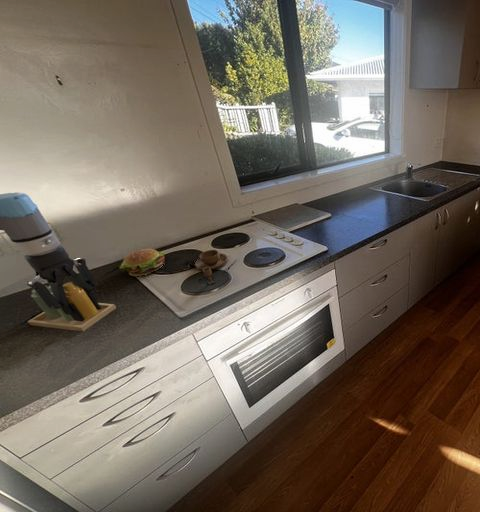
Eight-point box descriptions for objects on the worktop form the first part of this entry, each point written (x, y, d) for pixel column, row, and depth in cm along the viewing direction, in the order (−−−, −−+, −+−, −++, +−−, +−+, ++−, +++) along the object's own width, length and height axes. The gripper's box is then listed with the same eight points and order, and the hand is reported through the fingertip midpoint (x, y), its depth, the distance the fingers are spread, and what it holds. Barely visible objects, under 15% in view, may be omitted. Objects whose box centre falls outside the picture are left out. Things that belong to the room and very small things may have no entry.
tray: (31, 326, 89) (27, 321, 88) (67, 303, 98) (64, 299, 97) (84, 332, 87) (80, 327, 86) (116, 308, 96) (114, 304, 95)
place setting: (240, 257, 124) (237, 245, 121) (214, 284, 107) (209, 271, 104) (201, 256, 125) (197, 244, 122) (169, 283, 108) (163, 270, 105)
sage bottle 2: (61, 320, 91) (37, 290, 84) (76, 310, 95) (54, 280, 88) (73, 321, 90) (50, 291, 84) (88, 311, 94) (67, 282, 88)
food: (141, 260, 122) (132, 244, 118) (174, 260, 122) (166, 243, 118) (115, 279, 111) (104, 261, 106) (151, 278, 110) (142, 261, 106)
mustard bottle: (75, 319, 89) (51, 288, 83) (90, 309, 93) (69, 279, 87) (87, 320, 89) (65, 289, 83) (102, 310, 93) (82, 280, 86)
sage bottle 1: (44, 318, 91) (20, 288, 85) (60, 309, 95) (38, 279, 89) (57, 320, 91) (33, 289, 85) (72, 310, 95) (50, 280, 89)
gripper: (14, 268, 71) (68, 336, 83) (87, 236, 86) (124, 297, 98) (-11, 266, 72) (46, 333, 84) (66, 235, 87) (105, 296, 99)
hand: (88, 314), depth 91 cm, fingers closed on mustard bottle, 5 cm apart
